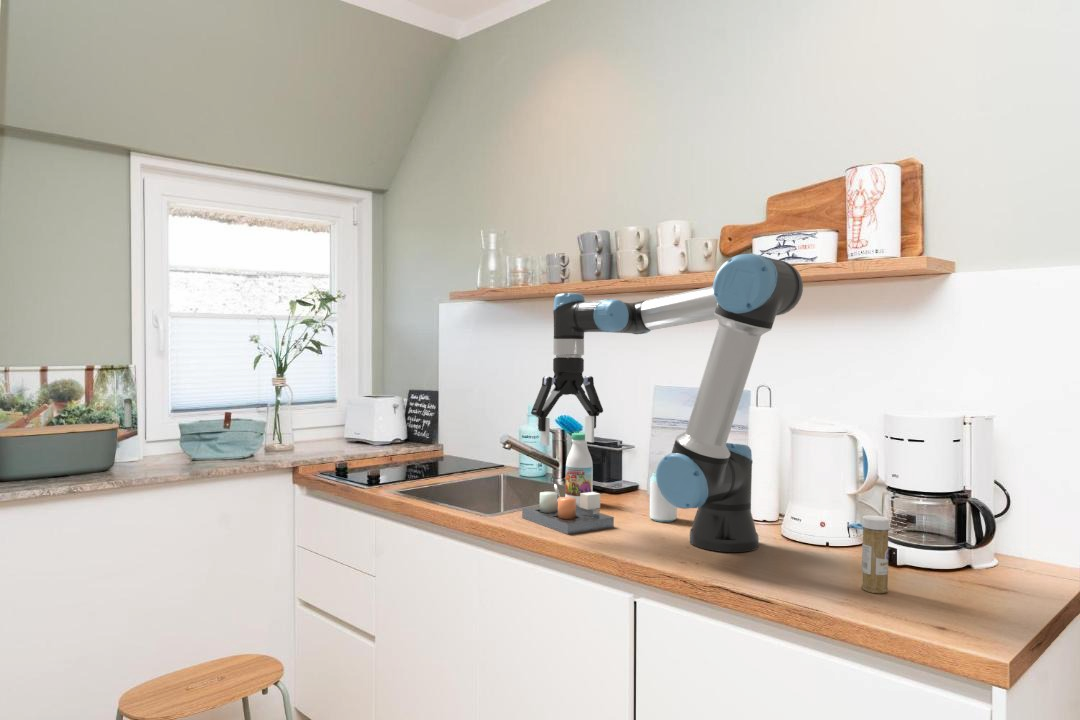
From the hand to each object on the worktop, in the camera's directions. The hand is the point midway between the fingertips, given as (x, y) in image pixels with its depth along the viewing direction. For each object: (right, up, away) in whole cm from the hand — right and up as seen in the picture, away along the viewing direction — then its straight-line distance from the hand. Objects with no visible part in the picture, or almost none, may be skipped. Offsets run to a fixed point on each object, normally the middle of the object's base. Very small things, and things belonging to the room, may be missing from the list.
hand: (567, 443), depth 178 cm
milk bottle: (+4, -21, +28) cm, 35 cm away
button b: (-5, -18, +6) cm, 20 cm away
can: (+25, -21, +9) cm, 34 cm away
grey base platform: (0, -20, +5) cm, 21 cm away
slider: (+6, -16, +2) cm, 17 cm away
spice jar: (+55, -22, -45) cm, 74 cm away
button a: (0, -18, 0) cm, 18 cm away
